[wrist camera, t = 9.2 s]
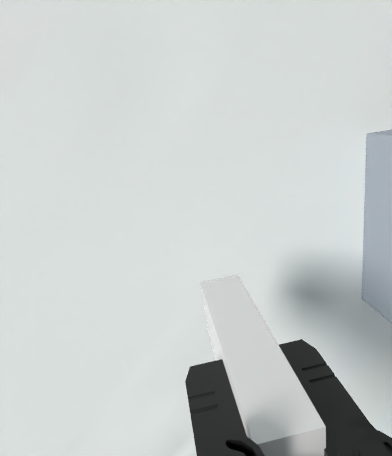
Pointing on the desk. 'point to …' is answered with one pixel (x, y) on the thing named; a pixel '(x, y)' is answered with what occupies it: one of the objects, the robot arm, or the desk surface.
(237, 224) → the desk surface
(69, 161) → the desk surface
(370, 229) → the slate block
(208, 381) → the robot arm
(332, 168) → the desk surface
